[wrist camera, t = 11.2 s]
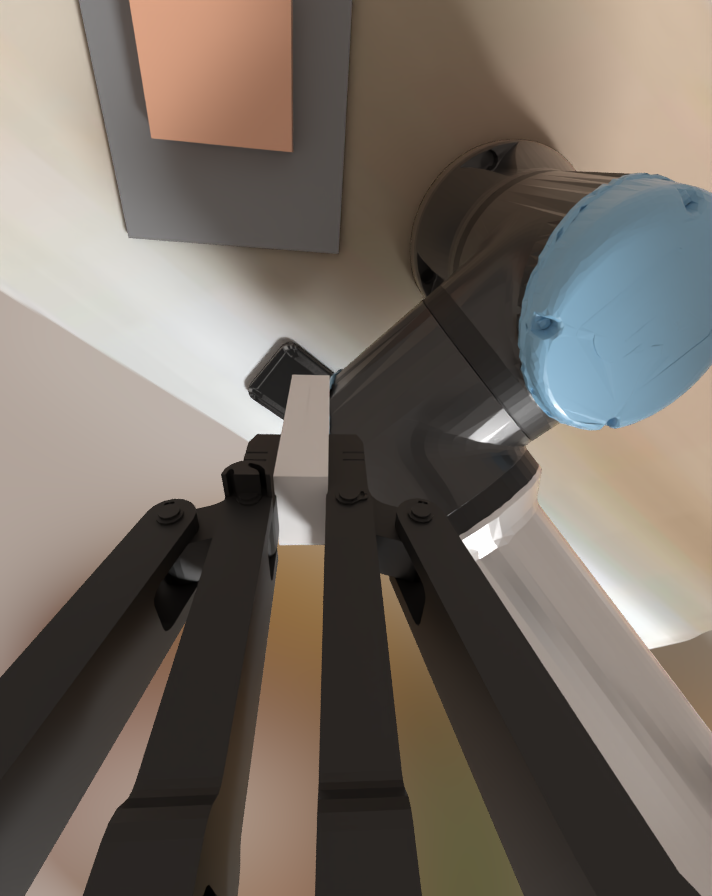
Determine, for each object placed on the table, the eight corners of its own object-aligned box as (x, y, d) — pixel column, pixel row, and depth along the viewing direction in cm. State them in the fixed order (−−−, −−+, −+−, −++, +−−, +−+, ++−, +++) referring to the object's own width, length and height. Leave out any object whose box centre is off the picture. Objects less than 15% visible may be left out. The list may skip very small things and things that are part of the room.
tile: (293, 152, 33) (292, -36, 27) (291, 152, 31) (290, -50, 25) (161, 138, 32) (132, -59, 26) (151, 138, 30) (116, -76, 24)
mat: (354, -42, 28) (354, -46, 27) (338, 252, 38) (338, 253, 37) (64, -85, 26) (59, -90, 25) (131, 236, 36) (128, 237, 36)
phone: (287, 340, 42) (392, 422, 48) (288, 336, 43) (391, 417, 49) (243, 393, 45) (347, 464, 51) (245, 389, 46) (346, 458, 52)
